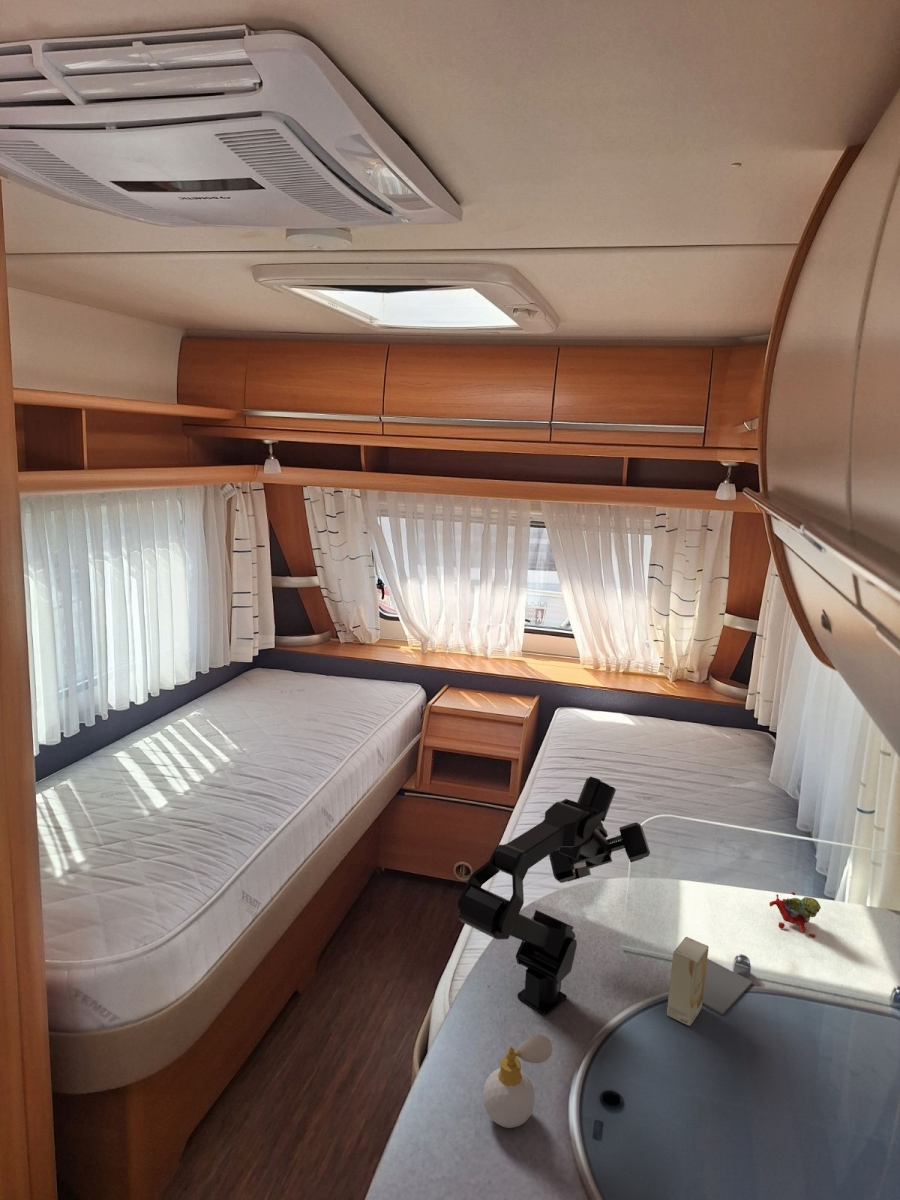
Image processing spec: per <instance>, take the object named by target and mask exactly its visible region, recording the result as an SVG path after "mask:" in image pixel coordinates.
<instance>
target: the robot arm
mask: <svg viewBox="0 0 900 1200" xmlns="http://www.w3.org/2000/svg"><path fill="white" fill-rule="evenodd" d="M616 791H617V789H616V788H615V787H614V786H612V785H610V784H608V783H605V782H603V781H602V780H601V779H599V778H597V777H593V776H589V777H587V778H586V779H585V782H584V785H583V787H582V789H581V792H580V794H579V796H578V799H577V801H574V800H571V799H567V798H565V799H563V800H560V801H556V802H555V803H553V804H552V805H551V806H550V807H549V808H548V809H546V810H545V812H544V819H543V820H542V821H541V822H540V823H538V824H537V825H535V826H534V827H532V828H530V829H528V830H527V831H525V832H523V833H522V834H520V835H519V836H517V837H515V838H514V839H513V840H511V841H509V842H507V843H505V844H498V845H497V846H496V847H495V848H494V850H493V852H492V854H491V856H490V858H489V860H488V861H487V862H486V863H484V864H483V865H481V866H480V867H478V869H477V870H475V871H474V872H472V874H471V875H470V877H469V878H468V881H467V883H466V884H465V887H464V888H463V890H462V892H461V895H460V897H459V899H458V902H457V910H458V912H459V913H458V915H457V917H458V920H459V921H460V922H461V923H463V924H465V925H467V926H469V927H471V928H473V929H475V930H477V931H479V932H481V933H484V934H485V935H487V936H489V937H491V938H493V939H495V940H497V941H498V940H500V941H501V940H508V939H510V937H512V938H513V937H514V938H515V939H518V940H520V941H521V943H520V945H519V947H518V950H517V952H516V954H515V960H516V963H517V964H518V965H521V966H524V967H525V968H527V969H526V970H525V979H524V980H525V981H524V989H521V991H519V992H518V993H517V995H516V996H517V998H518V999H519V1000H521V1001H522V1002H523V1003H525V1004H526V1005H528V1006H529V1007H531V1008H532V1009H533V1010H535V1011H537V1012H538V1013H540V1014H541V1015H543V1016H547V1015H549V1014H550V1013H552V1011H554V1010H555V1009H556V1008H558V1007H559V1006H560V1005H561V1004H563V1003H564V1002H565V1001H567V998H568V996H567V994H566V993H564V992H562V991H561V989H562V981H563V980H564V979H565V978H566V977H567V976H568V975H569V974H570V973H571V972H572V968H573V963H574V960H575V955H576V952H577V946H578V941H577V939H575V938H576V934H575V932H574V931H573V929H574V926H572V925H571V924H568V923H566V922H564V921H561V920H559V919H557V918H555V917H553V916H550V915H548V914H546V913H543V912H542V911H539V910H537V909H535V910H534V913H533V916H531V918H530V917H528V916H525V915H524V914H521V913H520V912H521V910H522V909H523V906H524V903H525V902H524V901H525V899H524V898H525V897H524V896H525V895H524V879H525V877H526V875H527V873H528V870H529V869H531V868H532V867H533V866H535V865H536V864H538V863H540V862H541V861H542V860H543V859H545V858H547V857H549V861H550V864H551V870H552V875H553V877H554V879H555V880H556V881H557V882H558V883H561V884H563V883H566V882H572V881H575V880H577V879H578V880H579V879H582V878H585V877H588V876H591V875H592V874H591V873H592V872H591V869H593V868H597V867H601V866H603V865H606V864H609V863H612V862H613V859H612V853H613V852H617V851H619V850H620V851H621V850H623V849H624V850H625V853H626V855H627V858H628V859H629V862H630V863H634V862H636V861H640V860H643V859H645V858H647V857H649V856H650V854H651V850H650V847H649V845H648V841H647V838H646V835H645V832H644V828H643V826H642V824H640V823H639V822H636V821H635V822H632V823H629V824H626V825H623V826H621V827H619V833H620V834H619V835H617V836H614V837H611V838H608V836H609V834H608V831H607V830H606V828H605V827H604V824H603V822H605V820H606V818H607V815H608V812H609V811H610V810H609V809H610V807H611V804H612V802H613V800H614V797H615V794H616ZM607 838H608V839H607ZM500 871H501V872H503V873H505V874H507V875H510V876H511V878H512V894H511V897H510V899H507V898H504V897H503V896H500V895H498V894H496V893H495V892H494V893H493V892H491V891H489V890H487V889H486V888H483V887H482V886H483V885H484V884H485V883H486V882H488V881H489V880H490V879H492V878H493V877H494V876H495V875H497V874H498V873H499V872H500Z"/></svg>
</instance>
